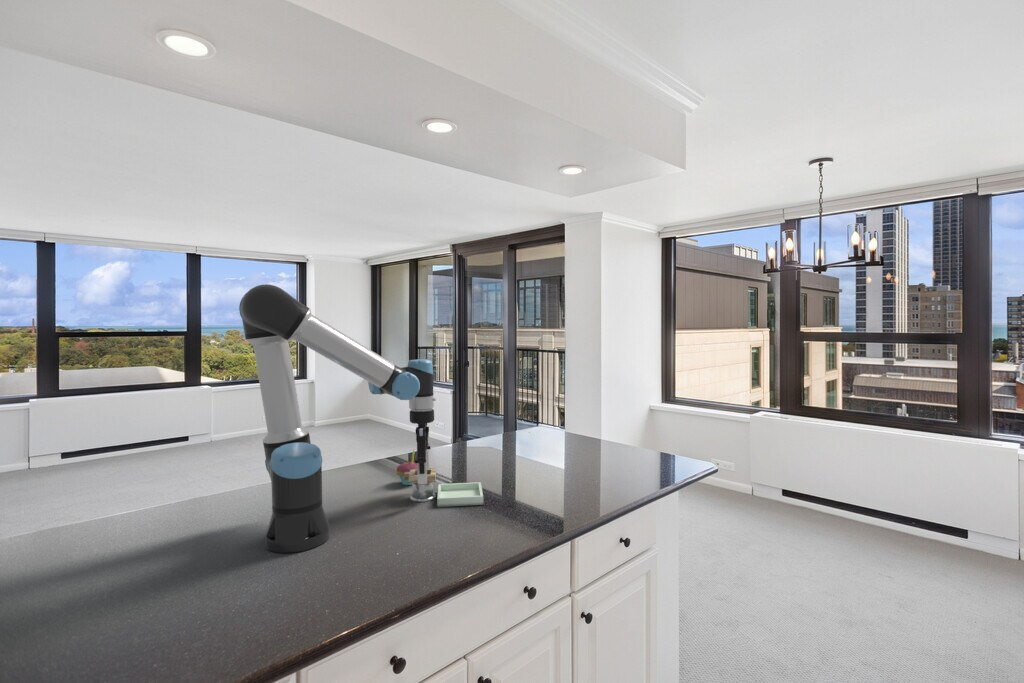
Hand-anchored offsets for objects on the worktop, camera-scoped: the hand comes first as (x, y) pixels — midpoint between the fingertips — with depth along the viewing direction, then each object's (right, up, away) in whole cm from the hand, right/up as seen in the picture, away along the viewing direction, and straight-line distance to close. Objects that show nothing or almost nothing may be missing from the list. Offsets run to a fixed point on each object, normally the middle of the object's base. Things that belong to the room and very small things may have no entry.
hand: (423, 476), depth 158 cm
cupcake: (-7, -6, +14) cm, 17 cm away
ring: (0, -1, 0) cm, 1 cm away
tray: (+11, -6, -1) cm, 13 cm away
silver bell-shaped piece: (0, -7, 0) cm, 7 cm away
